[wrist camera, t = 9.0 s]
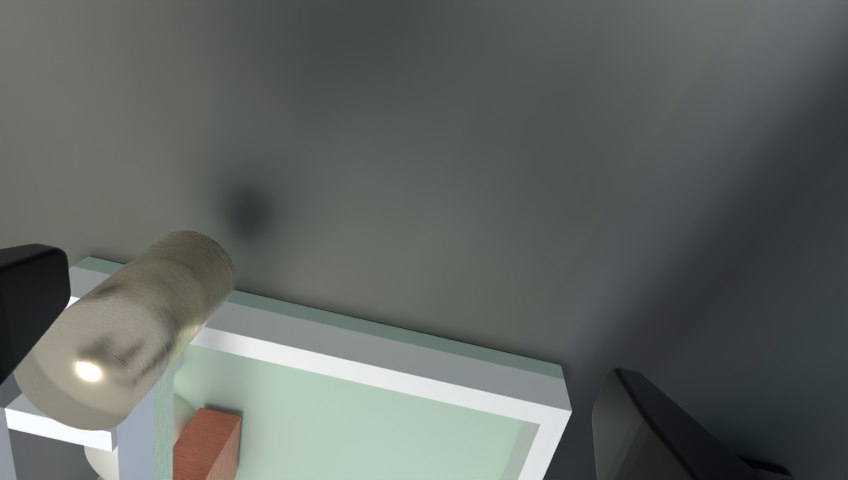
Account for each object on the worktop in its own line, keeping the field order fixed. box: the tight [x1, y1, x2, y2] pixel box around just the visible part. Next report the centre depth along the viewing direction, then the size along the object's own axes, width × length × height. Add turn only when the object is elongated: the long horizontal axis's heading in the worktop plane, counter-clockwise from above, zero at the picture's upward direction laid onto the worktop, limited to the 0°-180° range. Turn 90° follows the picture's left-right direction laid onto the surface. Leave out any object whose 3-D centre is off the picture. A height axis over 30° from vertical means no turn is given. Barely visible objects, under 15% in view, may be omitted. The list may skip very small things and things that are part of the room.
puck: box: [84, 393, 197, 480], centre depth 25 cm, size 4×4×2 cm
